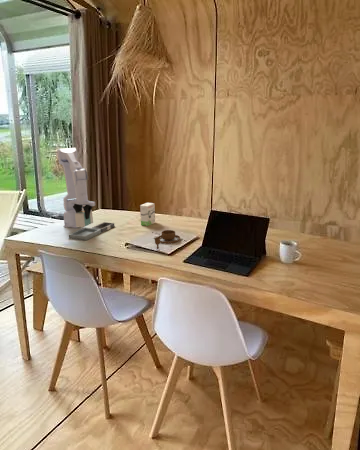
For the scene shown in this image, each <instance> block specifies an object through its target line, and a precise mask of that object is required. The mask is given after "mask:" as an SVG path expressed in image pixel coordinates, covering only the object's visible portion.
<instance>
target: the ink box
mask: <svg viewBox="0 0 360 450" xmlns="http://www.w3.org/2000/svg"><path fill="white" fill-rule="evenodd" d="M155 207H156V206H155V203H153V202H145V203H143V204H140V205H139V208H140V225H141V226H146V227H148V226H151V225H153V224H154V223H156V210H155V209H156V208H155Z"/></svg>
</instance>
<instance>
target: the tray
mask: <svg viewBox="0 0 360 450" xmlns="http://www.w3.org/2000/svg"><path fill="white" fill-rule="evenodd" d="M101 234H102V232H101V229H94V228H92V227H82V228H81V229H77V230H76V231H74V232H72V233H69V234H68V239H71V238H72V239H73V240H79V241H88V240H89V239H92V238H93V237H94V238H95V237H96V236H98V235H101Z"/></svg>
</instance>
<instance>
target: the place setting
mask: <svg viewBox="0 0 360 450" xmlns="http://www.w3.org/2000/svg"><path fill="white" fill-rule="evenodd" d="M160 233H161V235H157V236H156V238H154V244H155V245H156V250H157V249H159V250H160V246H159V245H160V244H164V243H166V244H167V245H168V244H169V245H170V244H171V243H172V244H176V243H178V242H180V241H181V236H180V235H177V234H176V231H175V230H172V229H165V230H163V231H161V232H160ZM160 237H162V238H160ZM161 239H162V240H161ZM174 239H177V240H174ZM160 242H161V243H160ZM166 244H165V245H166ZM170 248H173V246H172V245H171V246H170Z"/></svg>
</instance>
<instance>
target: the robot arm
mask: <svg viewBox="0 0 360 450" xmlns="http://www.w3.org/2000/svg"><path fill="white" fill-rule="evenodd" d="M77 150H78V149H77V148H76V147H69V148H68V147H67V148H57V151H56V153H57V154H56V155H57V159H58V160H57V161H58V164H59V165H62V169H63V172H64V179H65V180H64V181H65V185H66V186H65V187H66V193H67V194H66V195H65V196H64V197H63V200H62V201H63V207H64V210H65V211H64V212H63V227H66V228H73V229H78V228H79V227H76V219H75V213H78V212H80V211H83V210H84V212H85V218H86V219H89V216H90V212H91V210H92V208H93V207H94V206H96V201H92V200H89V199H88V198H89V197H88V185H87V180H88V171H87V170H86V168H83V166H82V164H81V162H80V161H78V160H77V158H78V151H77Z"/></svg>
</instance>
